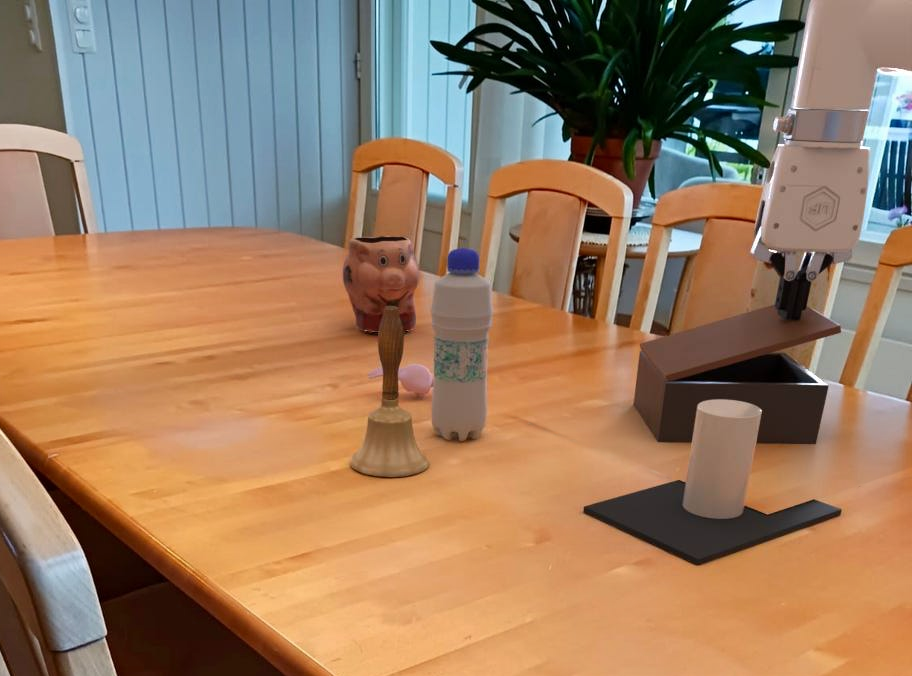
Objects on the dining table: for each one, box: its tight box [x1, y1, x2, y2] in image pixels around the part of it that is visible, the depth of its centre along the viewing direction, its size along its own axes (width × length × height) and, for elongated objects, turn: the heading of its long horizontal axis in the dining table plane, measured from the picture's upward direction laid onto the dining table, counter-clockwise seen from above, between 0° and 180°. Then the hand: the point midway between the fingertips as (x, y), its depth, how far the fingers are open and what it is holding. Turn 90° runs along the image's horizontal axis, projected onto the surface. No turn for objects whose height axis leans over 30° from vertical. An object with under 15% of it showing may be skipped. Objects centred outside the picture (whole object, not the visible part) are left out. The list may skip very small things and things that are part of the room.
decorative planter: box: [342, 235, 421, 332], centre depth 156 cm, size 20×12×14 cm, turn 22°
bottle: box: [430, 247, 494, 442], centre depth 106 cm, size 7×7×20 cm
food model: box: [746, 248, 832, 369], centre depth 126 cm, size 10×7×20 cm
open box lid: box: [639, 304, 842, 382], centre depth 109 cm, size 18×15×1 cm
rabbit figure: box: [366, 363, 434, 398], centre depth 123 cm, size 6×6×15 cm
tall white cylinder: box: [682, 399, 762, 519], centre depth 89 cm, size 6×6×10 cm
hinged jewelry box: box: [633, 350, 830, 445], centre depth 112 cm, size 18×15×7 cm
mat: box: [583, 479, 843, 566], centre depth 91 cm, size 20×14×1 cm
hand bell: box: [349, 306, 430, 478], centre depth 98 cm, size 8×8×16 cm
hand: (788, 316), depth 108 cm, fingers closed
